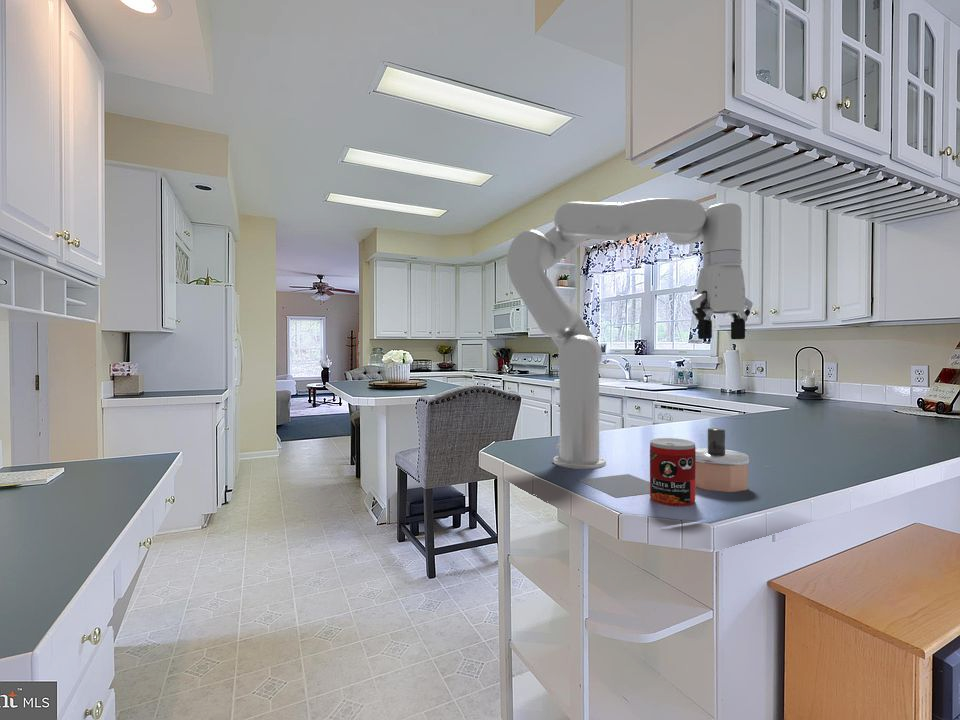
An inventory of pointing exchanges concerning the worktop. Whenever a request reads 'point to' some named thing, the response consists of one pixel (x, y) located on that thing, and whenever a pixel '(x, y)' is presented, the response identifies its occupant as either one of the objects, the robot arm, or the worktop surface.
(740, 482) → the bowl
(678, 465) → the canned food
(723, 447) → the lid
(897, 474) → the worktop surface
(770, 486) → the worktop surface
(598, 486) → the plate
